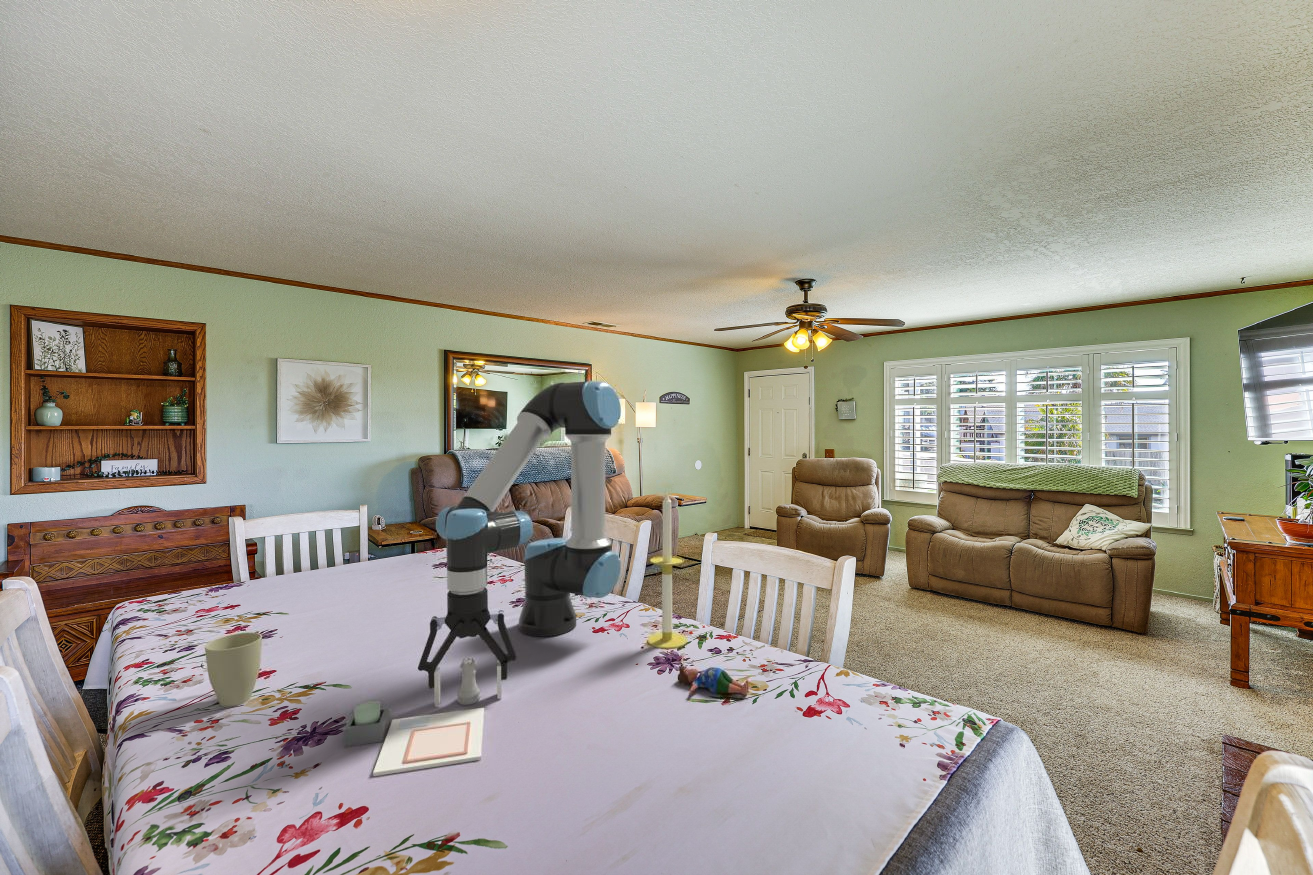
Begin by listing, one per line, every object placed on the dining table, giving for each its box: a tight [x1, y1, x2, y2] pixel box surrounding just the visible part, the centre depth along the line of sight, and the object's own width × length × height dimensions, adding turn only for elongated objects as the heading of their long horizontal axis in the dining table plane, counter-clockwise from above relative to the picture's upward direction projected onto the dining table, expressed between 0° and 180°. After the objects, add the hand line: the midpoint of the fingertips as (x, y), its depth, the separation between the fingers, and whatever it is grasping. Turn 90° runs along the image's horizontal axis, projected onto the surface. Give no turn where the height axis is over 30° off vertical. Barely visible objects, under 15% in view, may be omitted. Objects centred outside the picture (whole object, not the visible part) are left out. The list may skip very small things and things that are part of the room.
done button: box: [353, 700, 381, 726], centre depth 99 cm, size 4×4×4 cm
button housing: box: [343, 706, 391, 747], centre depth 99 cm, size 6×6×3 cm
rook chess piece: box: [456, 657, 482, 706], centre depth 111 cm, size 4×4×8 cm
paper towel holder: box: [646, 492, 688, 650], centre depth 140 cm, size 10×10×38 cm
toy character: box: [677, 665, 750, 696], centre depth 116 cm, size 12×5×15 cm
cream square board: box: [372, 707, 485, 777], centre depth 97 cm, size 16×16×1 cm
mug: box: [204, 631, 263, 708], centre depth 112 cm, size 11×10×12 cm
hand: (468, 699), depth 111 cm, fingers open, 11 cm apart
